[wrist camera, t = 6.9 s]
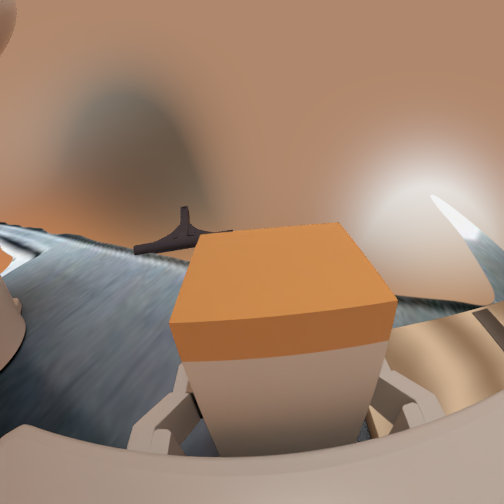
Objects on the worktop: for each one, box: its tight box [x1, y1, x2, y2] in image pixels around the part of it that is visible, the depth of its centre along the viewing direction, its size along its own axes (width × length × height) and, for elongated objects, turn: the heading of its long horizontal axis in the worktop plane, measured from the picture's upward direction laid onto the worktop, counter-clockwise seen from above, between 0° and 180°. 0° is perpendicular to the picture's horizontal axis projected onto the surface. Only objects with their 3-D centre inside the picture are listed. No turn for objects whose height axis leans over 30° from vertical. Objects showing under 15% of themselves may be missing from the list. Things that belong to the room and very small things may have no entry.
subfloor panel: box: [365, 301, 504, 439], centre depth 13 cm, size 17×16×1 cm
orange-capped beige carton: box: [169, 222, 398, 457], centre depth 11 cm, size 5×5×12 cm
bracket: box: [134, 206, 233, 255], centre depth 47 cm, size 14×15×3 cm
